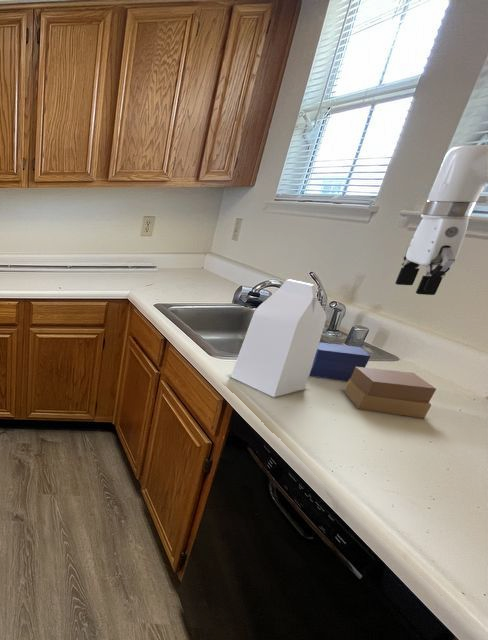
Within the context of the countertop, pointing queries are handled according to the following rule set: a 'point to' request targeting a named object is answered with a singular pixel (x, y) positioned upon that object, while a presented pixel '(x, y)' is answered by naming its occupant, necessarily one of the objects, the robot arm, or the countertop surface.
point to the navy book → (342, 353)
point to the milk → (282, 340)
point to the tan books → (390, 391)
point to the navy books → (333, 369)
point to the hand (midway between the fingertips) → (413, 289)
